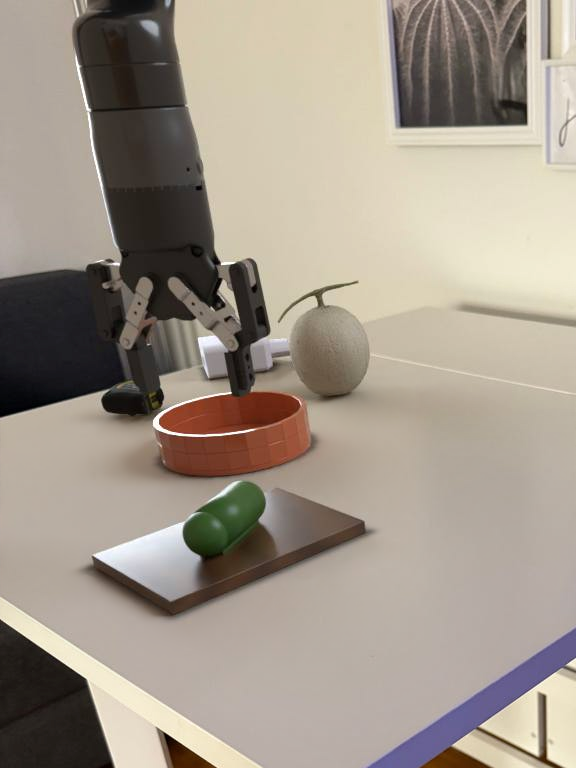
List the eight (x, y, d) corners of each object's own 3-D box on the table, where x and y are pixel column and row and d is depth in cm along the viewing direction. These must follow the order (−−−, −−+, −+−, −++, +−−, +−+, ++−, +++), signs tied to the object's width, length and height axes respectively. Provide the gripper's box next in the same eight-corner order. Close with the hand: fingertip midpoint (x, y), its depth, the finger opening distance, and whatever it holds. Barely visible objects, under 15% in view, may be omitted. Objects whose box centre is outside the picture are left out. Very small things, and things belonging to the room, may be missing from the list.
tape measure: (102, 419, 123) (95, 391, 121) (134, 404, 129) (127, 377, 127) (146, 422, 121) (139, 393, 119) (176, 406, 127) (170, 378, 125)
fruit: (288, 389, 131) (269, 276, 123) (369, 379, 133) (355, 268, 125) (292, 409, 122) (273, 290, 114) (379, 399, 124) (365, 280, 116)
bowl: (213, 487, 99) (204, 447, 96) (135, 455, 109) (125, 418, 107) (340, 443, 109) (335, 405, 107) (258, 417, 120) (251, 383, 117)
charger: (309, 366, 141) (209, 381, 137) (298, 353, 149) (203, 367, 145) (304, 334, 139) (202, 348, 135) (293, 323, 146) (196, 335, 142)
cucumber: (220, 565, 79) (211, 522, 77) (179, 563, 80) (168, 520, 78) (276, 514, 88) (269, 474, 86) (238, 512, 89) (230, 473, 87)
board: (173, 615, 74) (170, 602, 74) (94, 567, 83) (90, 555, 83) (366, 532, 86) (364, 520, 86) (279, 498, 95) (277, 487, 94)
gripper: (39, 185, 68) (96, 404, 76) (213, 180, 65) (253, 409, 73) (98, 175, 74) (145, 378, 83) (261, 170, 71) (293, 382, 79)
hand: (196, 393), depth 78 cm, fingers open, 8 cm apart
